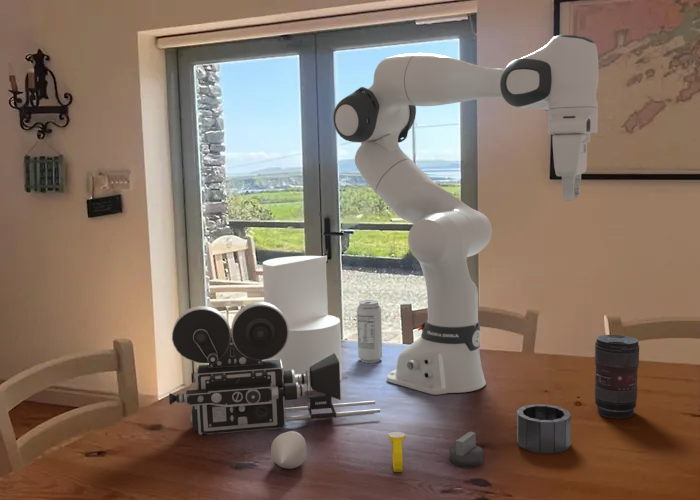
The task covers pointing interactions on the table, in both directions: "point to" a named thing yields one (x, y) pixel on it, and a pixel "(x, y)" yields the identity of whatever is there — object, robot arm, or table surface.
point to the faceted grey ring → (543, 428)
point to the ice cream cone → (289, 450)
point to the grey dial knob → (466, 452)
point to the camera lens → (616, 375)
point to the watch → (397, 450)
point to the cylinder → (302, 311)
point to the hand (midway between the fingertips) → (571, 199)
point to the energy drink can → (369, 331)
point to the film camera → (248, 371)
